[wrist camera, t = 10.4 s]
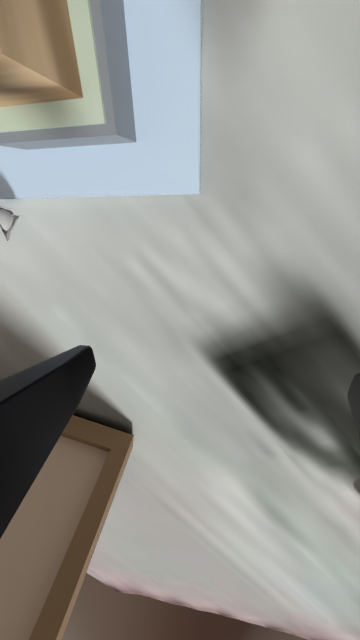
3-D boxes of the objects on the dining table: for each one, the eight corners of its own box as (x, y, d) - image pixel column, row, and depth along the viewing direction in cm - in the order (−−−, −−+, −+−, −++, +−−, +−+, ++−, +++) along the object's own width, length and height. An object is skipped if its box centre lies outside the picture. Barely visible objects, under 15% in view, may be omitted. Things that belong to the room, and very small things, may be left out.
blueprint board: (203, -190, 10) (202, -210, 10) (200, 193, 17) (199, 194, 16) (-98, -95, 13) (-111, -106, 13) (1, 198, 20) (-5, 199, 19)
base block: (117, -63, 12) (81, -136, 9) (136, 142, 16) (115, 134, 13) (-22, -30, 13) (-89, -84, 11) (27, 149, 17) (-13, 143, 14)
